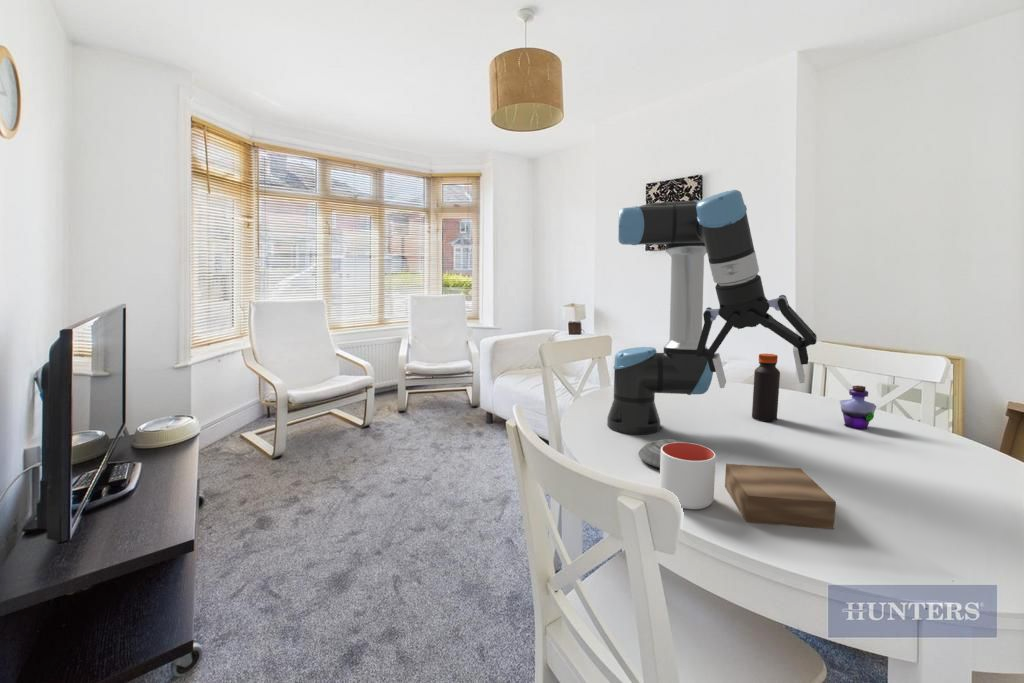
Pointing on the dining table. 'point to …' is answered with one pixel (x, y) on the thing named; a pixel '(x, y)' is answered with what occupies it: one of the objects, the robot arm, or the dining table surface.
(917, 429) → the dining table surface
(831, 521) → the walnut block
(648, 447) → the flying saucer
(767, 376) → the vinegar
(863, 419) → the potion bottle
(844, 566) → the dining table surface
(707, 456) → the cup
